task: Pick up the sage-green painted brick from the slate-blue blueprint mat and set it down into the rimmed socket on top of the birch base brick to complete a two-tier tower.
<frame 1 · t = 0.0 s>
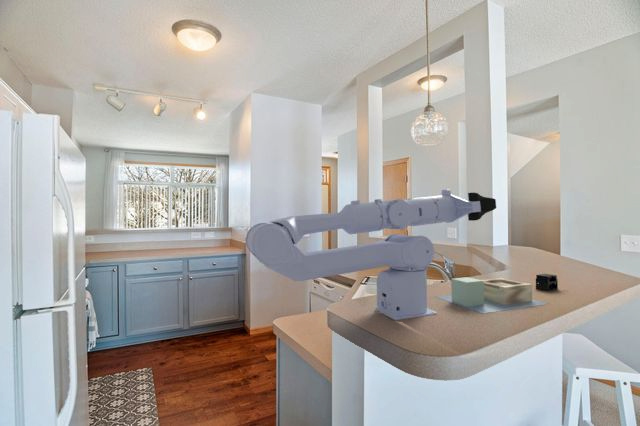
hand: (480, 204, 71), 22 cm above the countertop, tool horizontal, fingers open, 7 cm apart
blueprint mat: (489, 301, 71), on the countertop
base brick: (502, 298, 72), resting on blueprint mat
black box: (546, 293, 81), on the countertop
green brick: (467, 302, 69), resting on blueprint mat
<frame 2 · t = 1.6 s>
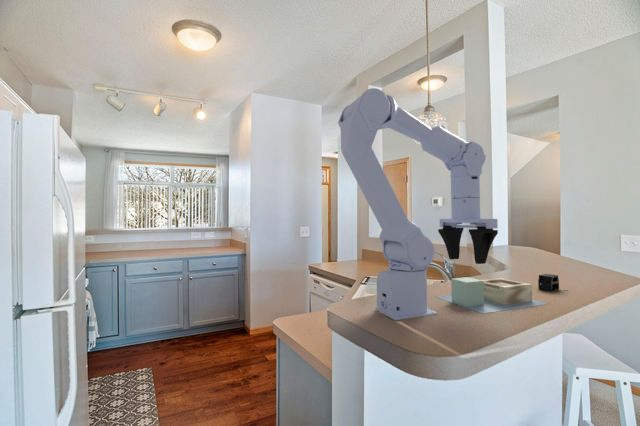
hand: (466, 261, 69), 9 cm above the countertop, tool pointing down, fingers open, 7 cm apart
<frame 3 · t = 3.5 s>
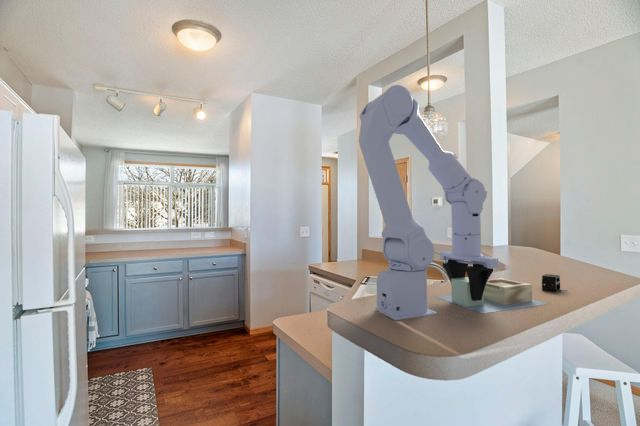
hand: (467, 297, 69), 2 cm above the countertop, tool pointing down, fingers closed on green brick, 4 cm apart
green brick: (467, 302, 69), resting on blueprint mat, touching gripper
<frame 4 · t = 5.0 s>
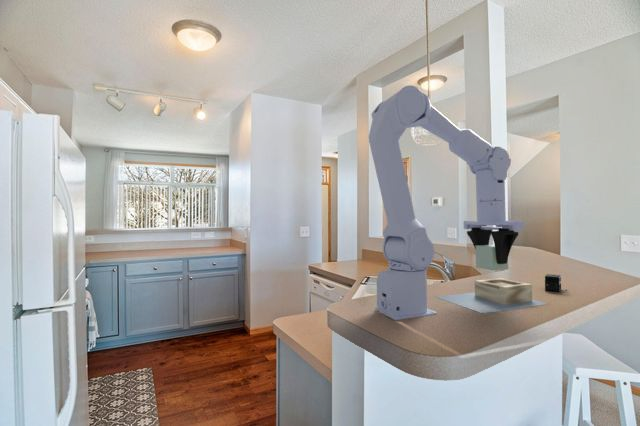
hand: (492, 262, 72), 9 cm above the countertop, tool pointing down, fingers closed on green brick, 4 cm apart
green brick: (491, 268, 72), point 7 cm above the countertop, touching gripper
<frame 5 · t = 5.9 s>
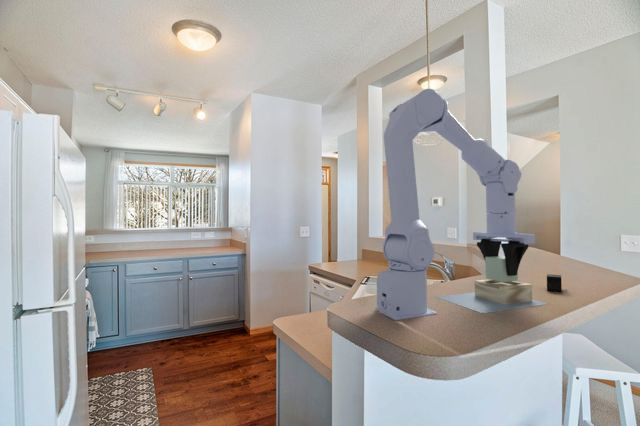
hand: (502, 273, 73), 6 cm above the countertop, tool pointing down, fingers closed on green brick, 4 cm apart
green brick: (501, 279, 72), point 5 cm above the countertop, touching gripper
when the fingers open (6 cm above the countertop, at t = 6.5 s): green brick drops 1 cm, resting on base brick.
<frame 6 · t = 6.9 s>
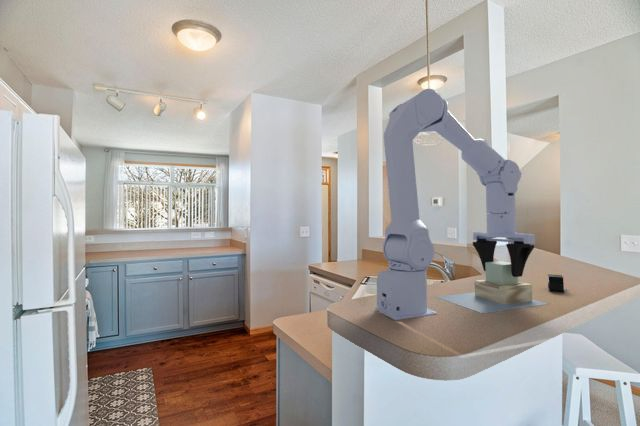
hand: (502, 273, 73), 6 cm above the countertop, tool pointing down, fingers open, 7 cm apart
base brick: (502, 298, 72), resting on blueprint mat, touching green brick
green brick: (501, 285, 72), point 3 cm above the countertop, touching base brick
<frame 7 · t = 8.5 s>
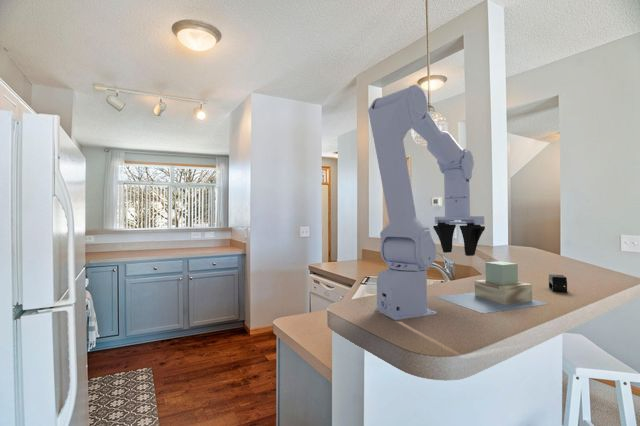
hand: (458, 253, 79), 10 cm above the countertop, tool pointing down, fingers open, 7 cm apart
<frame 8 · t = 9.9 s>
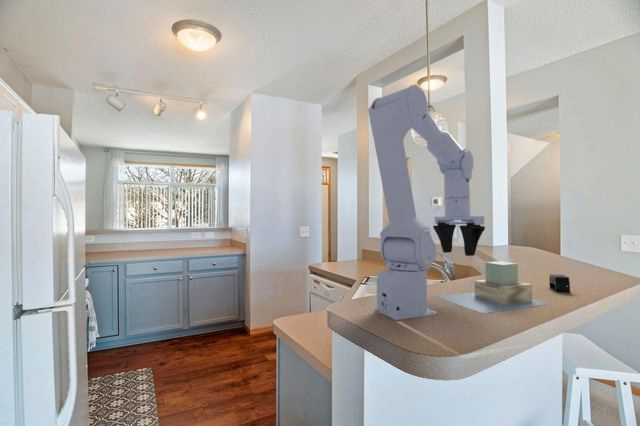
hand: (458, 253, 79), 10 cm above the countertop, tool pointing down, fingers open, 7 cm apart
at the end: green brick 0.2 cm off-centre on the base brick, point 3.0 cm above the base brick's base; green brick tilted 0°; base brick moved 0.0 cm from its start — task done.
